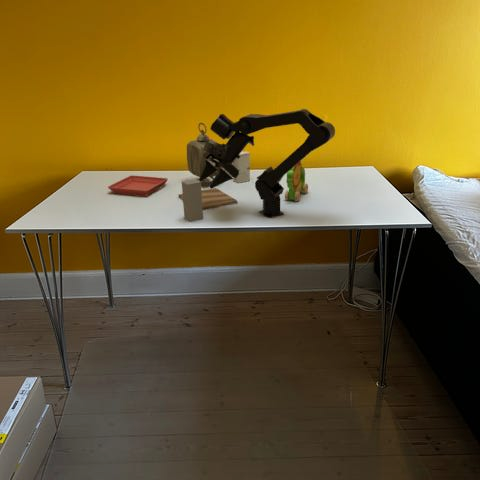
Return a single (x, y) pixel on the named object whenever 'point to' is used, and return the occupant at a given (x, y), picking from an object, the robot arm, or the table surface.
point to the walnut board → (214, 198)
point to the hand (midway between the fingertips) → (204, 184)
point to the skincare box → (242, 167)
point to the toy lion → (296, 182)
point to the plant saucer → (138, 185)
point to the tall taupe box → (192, 200)
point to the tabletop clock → (198, 153)
